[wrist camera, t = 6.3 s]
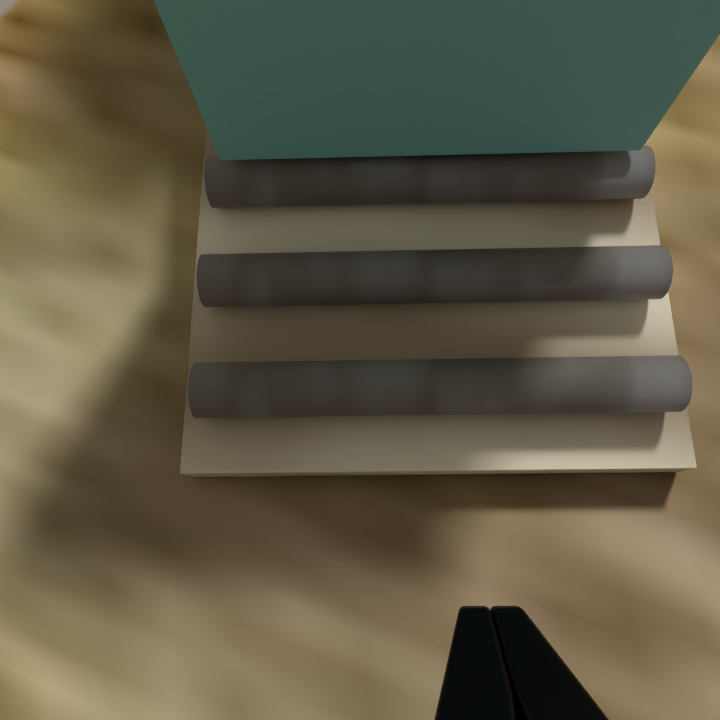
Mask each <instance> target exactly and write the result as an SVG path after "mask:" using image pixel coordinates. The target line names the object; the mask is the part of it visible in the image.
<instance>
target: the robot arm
mask: <svg viewBox="0 0 720 720" xmlns="http://www.w3.org/2000/svg"><path fill="white" fill-rule="evenodd" d="M435 720H609V719H608V718H607V717H606V716H605V714H604V713H603V712H602V710H601V709H600V708H599V707H598V705H597V704H596V703H595V701H594V700H593V699H592V697H591V696H590V695H589V694H588V692H587V691H586V690H585V688H584V687H583V686H582V685H581V683H580V682H579V681H578V679H577V678H576V677H575V676H574V674H573V673H572V672H571V670H570V669H569V668H568V667H567V665H566V664H565V663H564V661H563V660H562V659H561V658H560V656H559V655H558V654H557V652H556V651H555V650H554V649H553V647H552V646H551V645H550V643H549V642H548V641H547V639H546V638H545V637H544V636H543V634H542V633H541V632H540V630H539V629H538V628H537V627H536V625H535V624H534V623H533V621H532V620H531V619H530V618H529V616H528V615H527V614H526V612H525V611H524V610H523V609H522V608H520V607H518V606H494V607H492V608H491V609H490V610H489V608H488V607H486V606H463V607H461V608H460V609H459V613H458V617H457V621H456V626H455V630H454V635H453V639H452V644H451V648H450V653H449V657H448V662H447V666H446V671H445V675H444V680H443V684H442V689H441V693H440V698H439V702H438V707H437V711H436V716H435Z"/></svg>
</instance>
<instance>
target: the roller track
mask: <svg viewBox="0 0 720 720" xmlns="http://www.w3.org/2000/svg"><path fill="white" fill-rule="evenodd" d="M654 175H655V156H654V153H653V150H652V148H651V147H650V146H643V147H642V149H641V150H636V151H593V152H550V153H507V154H464V155H421V156H378V157H335V158H292V159H249V160H220V159H219V156H218V154H217V151H216V149H215V147H214V144H213V142H212V139H211V137H210V135H209V132H208V130H207V127H206V132H205V145H204V158H203V172H202V185H201V198H200V211H199V225H198V238H197V251H196V265H195V278H194V291H193V304H192V318H191V331H190V344H189V357H188V371H187V384H186V397H185V410H184V424H183V437H182V450H181V463H180V474H183V475H186V476H189V477H251V476H346V475H441V474H536V473H631V472H680V471H685V470H689V469H694V468H697V467H696V460H695V454H694V448H693V442H692V436H691V430H690V424H689V418H688V411H687V406H688V404H689V402H690V399H691V394H692V377H691V372H690V369H689V366H688V364H687V362H686V361H685V359H684V358H682V357H681V356H679V355H678V350H677V344H676V338H675V332H674V326H673V320H672V313H671V307H670V301H669V295H668V290H669V288H670V285H671V281H672V274H673V265H672V258H671V255H670V252H669V250H668V249H667V248H666V247H665V246H663V245H660V240H659V234H658V228H657V222H656V215H655V209H654V203H653V197H652V191H651V187H652V184H653V180H654Z"/></svg>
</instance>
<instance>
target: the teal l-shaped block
mask: <svg viewBox="0 0 720 720" xmlns="http://www.w3.org/2000/svg"><path fill="white" fill-rule="evenodd" d="M154 3H155V5H156V8H157V10H158V12H159V15H160V17H161V20H162V22H163V24H164V27H165V29H166V32H167V34H168V36H169V39H170V41H171V44H172V46H173V48H174V51H175V53H176V56H177V58H178V60H179V63H180V65H181V67H182V70H183V72H184V75H185V77H186V79H187V82H188V84H189V87H190V89H191V91H192V94H193V96H194V99H195V101H196V103H197V106H198V108H199V111H200V113H201V115H202V118H203V120H204V123H205V125H206V127H207V130H208V132H209V135H210V137H211V139H212V142H213V144H214V147H215V149H216V151H217V154H218V156H219V159H220V160H249V159H292V158H335V157H378V156H421V155H464V154H507V153H550V152H593V151H636V150H641V149H642V147H643V146H644V144H645V143H646V141H647V140H648V138H649V137H650V135H651V134H652V132H653V131H654V129H655V128H656V127H657V125H658V124H659V122H660V121H661V119H662V118H663V116H664V115H665V113H666V112H667V110H668V109H669V107H670V106H671V105H672V103H673V102H674V100H675V99H676V97H677V96H678V94H679V93H680V91H681V90H682V88H683V87H684V85H685V84H686V83H687V81H688V80H689V78H690V77H691V75H692V74H693V72H694V71H695V69H696V68H697V66H698V65H699V63H700V62H701V60H702V59H703V58H704V56H705V55H706V53H707V52H708V50H709V49H710V47H711V46H712V44H713V43H714V41H715V40H716V38H717V37H718V36H719V34H720V0H154Z"/></svg>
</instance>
